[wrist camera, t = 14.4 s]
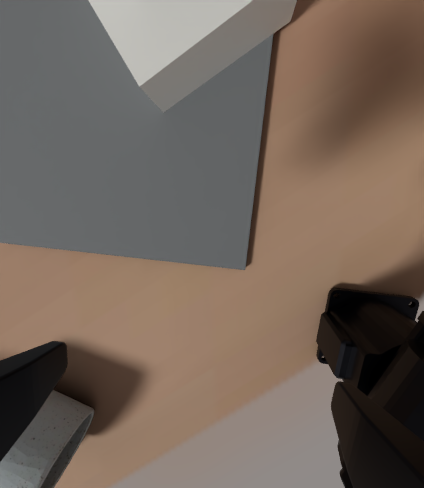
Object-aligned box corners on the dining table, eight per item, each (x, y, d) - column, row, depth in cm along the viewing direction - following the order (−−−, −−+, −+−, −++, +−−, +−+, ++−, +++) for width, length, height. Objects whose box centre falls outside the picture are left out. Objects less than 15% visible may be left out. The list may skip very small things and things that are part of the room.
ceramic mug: (27, 356, 24) (-68, 431, 17) (103, 390, 24) (42, 481, 17) (6, 433, 27) (-83, 527, 19) (76, 464, 27) (12, 571, 19)
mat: (287, -88, 15) (288, -99, 15) (244, 267, 20) (245, 270, 20) (-25, -87, 17) (-34, -97, 16) (5, 241, 22) (-1, 242, 21)
